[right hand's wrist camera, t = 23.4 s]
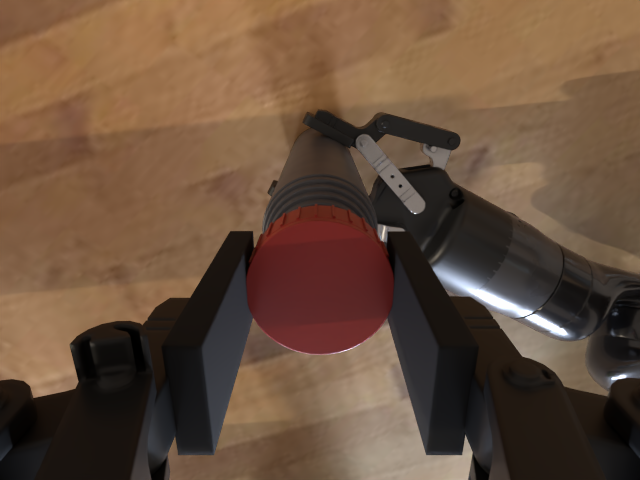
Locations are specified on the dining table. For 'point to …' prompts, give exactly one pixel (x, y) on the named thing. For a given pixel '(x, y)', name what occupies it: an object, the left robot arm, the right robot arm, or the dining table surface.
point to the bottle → (319, 180)
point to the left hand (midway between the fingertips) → (288, 153)
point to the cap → (320, 280)
